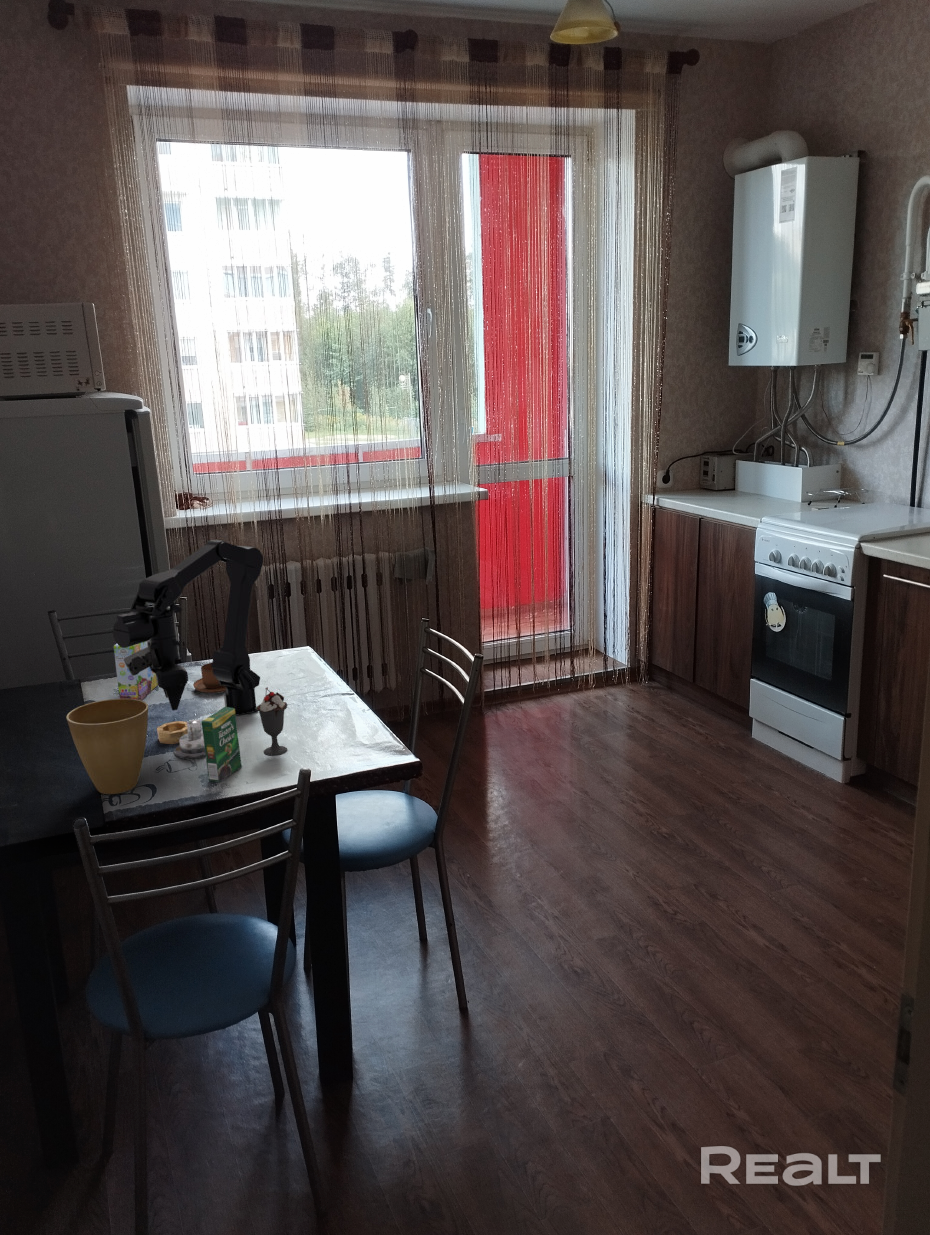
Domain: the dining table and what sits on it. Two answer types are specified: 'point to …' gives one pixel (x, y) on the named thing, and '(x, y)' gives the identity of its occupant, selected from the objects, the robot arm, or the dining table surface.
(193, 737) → the silver flanged knob
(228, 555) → the robot arm
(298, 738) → the dining table surface
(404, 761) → the dining table surface
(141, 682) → the snack box
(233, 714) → the coffee box
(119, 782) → the plant pot
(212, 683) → the cup and saucer
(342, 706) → the dining table surface
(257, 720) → the dining table surface
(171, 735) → the ring
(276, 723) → the sundae
